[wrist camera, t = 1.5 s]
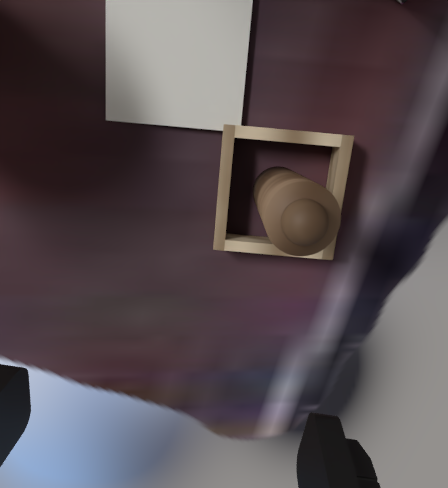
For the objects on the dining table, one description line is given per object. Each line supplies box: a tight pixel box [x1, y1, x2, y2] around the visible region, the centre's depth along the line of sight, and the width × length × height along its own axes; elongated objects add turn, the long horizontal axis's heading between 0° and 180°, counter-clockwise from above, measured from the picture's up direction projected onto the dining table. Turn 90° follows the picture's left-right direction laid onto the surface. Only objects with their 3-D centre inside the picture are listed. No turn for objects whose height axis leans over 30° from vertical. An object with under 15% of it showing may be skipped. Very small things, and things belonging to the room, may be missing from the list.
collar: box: [213, 124, 354, 260], centre depth 34 cm, size 11×11×2 cm
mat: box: [106, 0, 253, 131], centre depth 32 cm, size 12×12×1 cm
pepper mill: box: [253, 167, 341, 256], centre depth 28 cm, size 5×5×15 cm
